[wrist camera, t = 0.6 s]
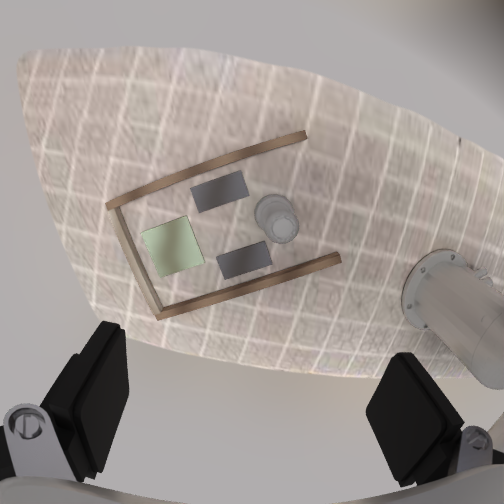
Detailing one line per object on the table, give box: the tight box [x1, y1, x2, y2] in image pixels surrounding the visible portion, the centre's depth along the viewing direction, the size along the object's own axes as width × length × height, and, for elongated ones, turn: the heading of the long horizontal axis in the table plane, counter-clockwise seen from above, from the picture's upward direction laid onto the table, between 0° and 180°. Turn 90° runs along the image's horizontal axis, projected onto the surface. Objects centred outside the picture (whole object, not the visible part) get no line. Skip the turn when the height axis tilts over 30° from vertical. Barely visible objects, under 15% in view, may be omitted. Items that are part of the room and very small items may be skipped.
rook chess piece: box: [255, 194, 299, 244], centre depth 31 cm, size 4×4×8 cm
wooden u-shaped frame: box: [105, 130, 342, 321], centre depth 35 cm, size 24×16×2 cm, turn 108°
